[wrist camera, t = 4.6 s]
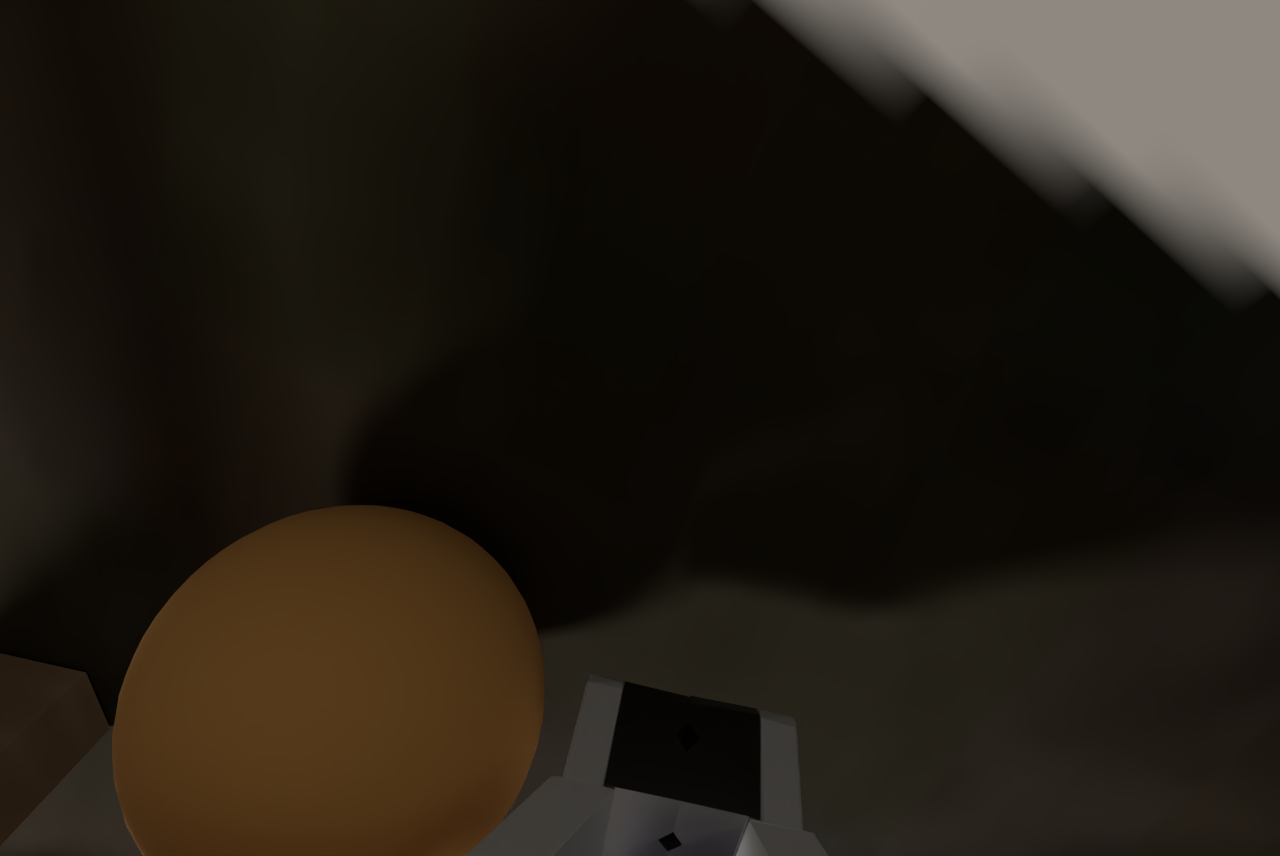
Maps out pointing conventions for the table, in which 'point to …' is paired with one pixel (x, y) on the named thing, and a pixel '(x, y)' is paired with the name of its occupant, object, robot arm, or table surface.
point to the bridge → (41, 732)
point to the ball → (331, 695)
